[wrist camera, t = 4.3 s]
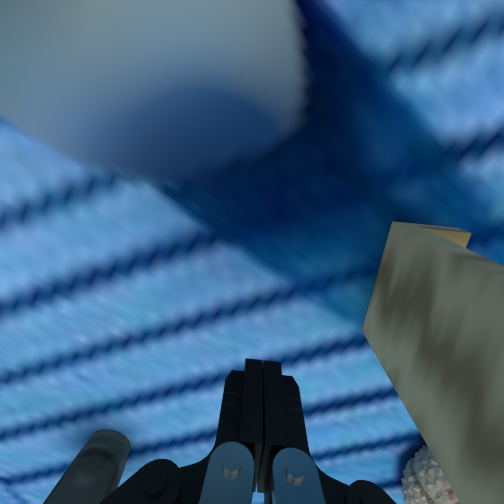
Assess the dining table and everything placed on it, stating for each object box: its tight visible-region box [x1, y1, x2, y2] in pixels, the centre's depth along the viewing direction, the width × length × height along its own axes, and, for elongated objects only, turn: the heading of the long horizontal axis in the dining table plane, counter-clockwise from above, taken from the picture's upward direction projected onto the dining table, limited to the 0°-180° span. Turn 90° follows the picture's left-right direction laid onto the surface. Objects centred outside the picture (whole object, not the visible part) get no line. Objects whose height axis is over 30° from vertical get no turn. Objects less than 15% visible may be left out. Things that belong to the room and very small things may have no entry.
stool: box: [362, 221, 504, 504], centre depth 16 cm, size 10×5×14 cm, turn 175°
